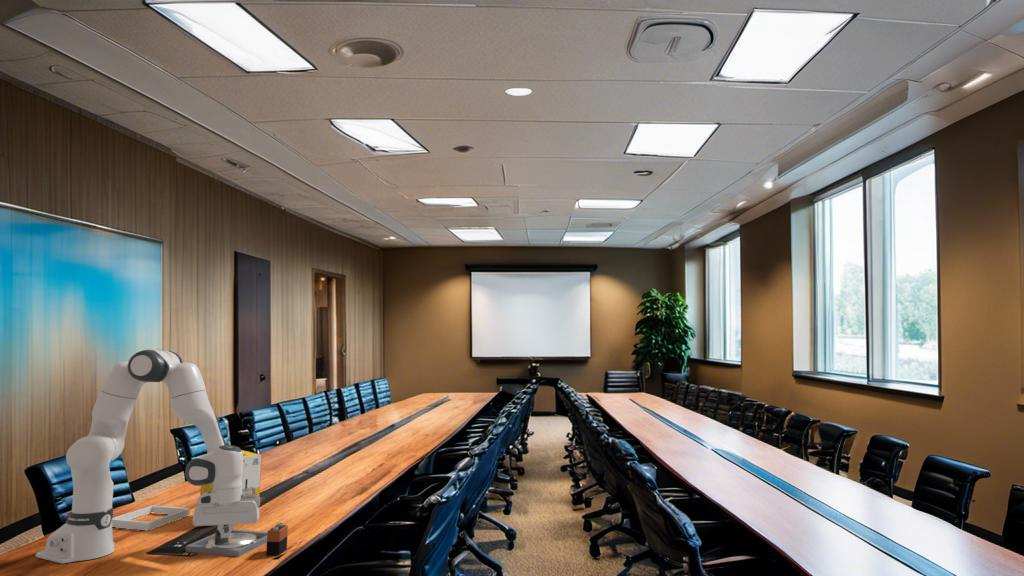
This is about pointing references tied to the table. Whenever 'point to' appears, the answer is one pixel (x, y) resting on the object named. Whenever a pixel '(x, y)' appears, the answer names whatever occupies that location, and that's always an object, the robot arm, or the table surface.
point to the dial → (232, 539)
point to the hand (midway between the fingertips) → (225, 538)
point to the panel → (209, 548)
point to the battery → (277, 540)
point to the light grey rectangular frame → (127, 523)
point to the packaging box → (246, 475)
